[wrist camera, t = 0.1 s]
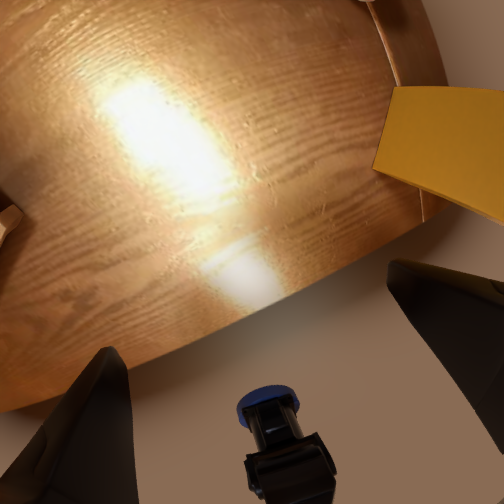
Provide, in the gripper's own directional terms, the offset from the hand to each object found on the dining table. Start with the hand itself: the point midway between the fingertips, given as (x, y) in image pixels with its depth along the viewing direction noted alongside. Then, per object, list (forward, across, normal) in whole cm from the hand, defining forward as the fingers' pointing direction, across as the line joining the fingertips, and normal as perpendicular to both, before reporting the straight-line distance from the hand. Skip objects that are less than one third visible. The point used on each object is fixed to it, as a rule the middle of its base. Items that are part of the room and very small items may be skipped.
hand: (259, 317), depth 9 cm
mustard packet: (+12, -15, -2) cm, 20 cm away
